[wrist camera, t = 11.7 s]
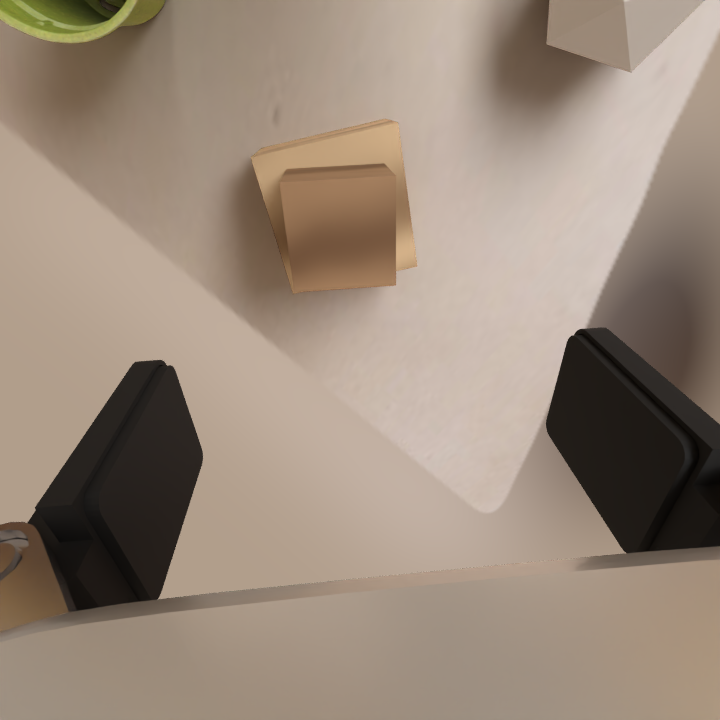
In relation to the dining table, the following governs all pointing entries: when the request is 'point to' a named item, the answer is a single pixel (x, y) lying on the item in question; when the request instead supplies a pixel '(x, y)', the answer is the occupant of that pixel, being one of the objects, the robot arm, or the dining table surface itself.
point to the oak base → (337, 149)
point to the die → (615, 27)
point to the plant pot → (75, 17)
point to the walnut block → (340, 226)
